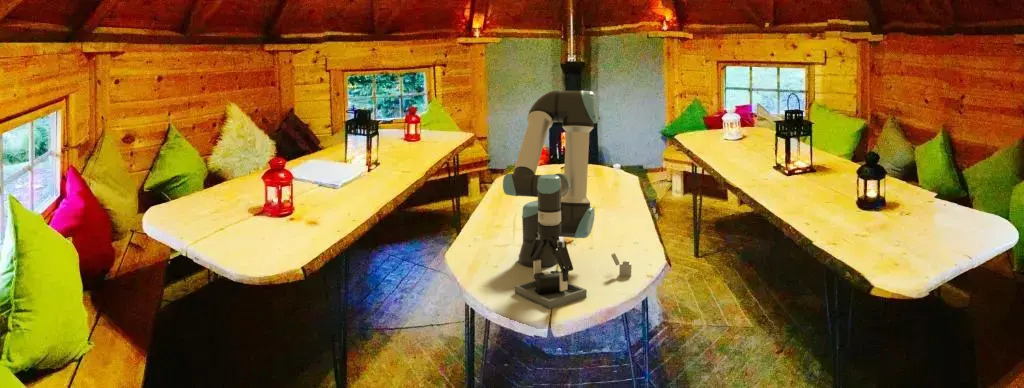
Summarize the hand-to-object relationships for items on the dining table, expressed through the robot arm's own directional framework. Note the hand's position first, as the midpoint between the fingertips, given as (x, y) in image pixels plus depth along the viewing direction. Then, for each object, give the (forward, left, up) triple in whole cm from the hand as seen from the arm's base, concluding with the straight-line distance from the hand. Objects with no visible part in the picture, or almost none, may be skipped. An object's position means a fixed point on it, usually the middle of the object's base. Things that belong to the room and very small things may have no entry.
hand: (550, 284), depth 235 cm
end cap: (0, 0, -3) cm, 3 cm away
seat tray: (0, 0, -4) cm, 4 cm away
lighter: (+1, +32, -4) cm, 32 cm away
